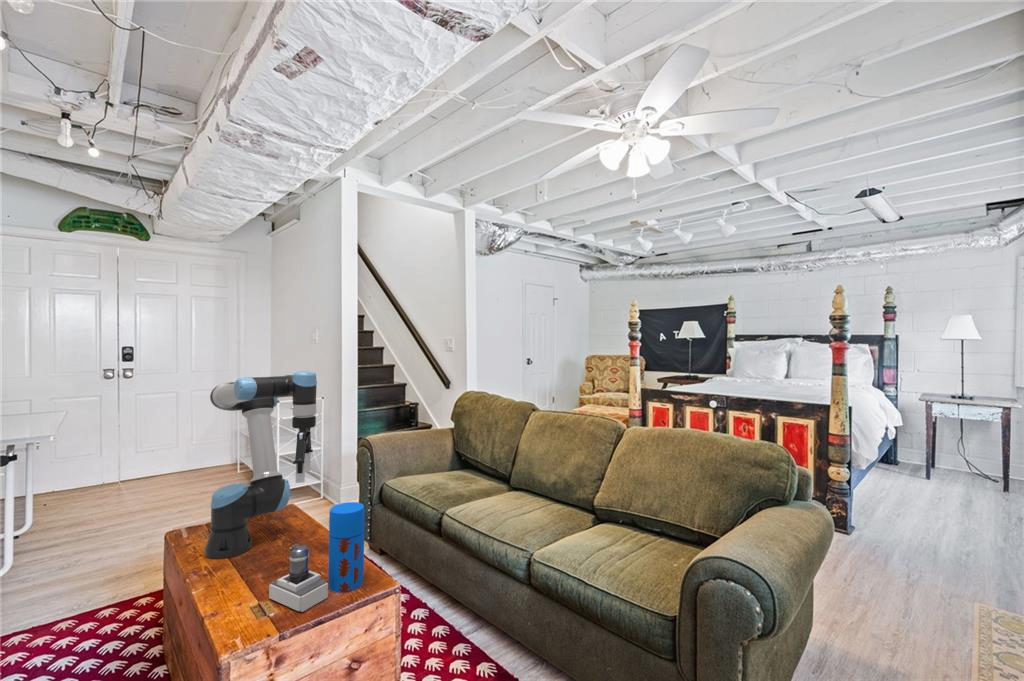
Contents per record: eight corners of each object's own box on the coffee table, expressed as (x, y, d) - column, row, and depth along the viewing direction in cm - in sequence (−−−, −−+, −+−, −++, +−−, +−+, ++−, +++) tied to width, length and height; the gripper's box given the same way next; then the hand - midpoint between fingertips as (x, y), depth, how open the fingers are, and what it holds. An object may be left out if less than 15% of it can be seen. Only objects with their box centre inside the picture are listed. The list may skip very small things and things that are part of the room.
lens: (284, 583, 141) (285, 550, 141) (300, 575, 146) (301, 543, 146) (296, 588, 138) (297, 554, 139) (312, 580, 143) (313, 547, 143)
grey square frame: (269, 599, 141) (269, 577, 141) (296, 585, 150) (297, 564, 150) (300, 613, 134) (300, 590, 134) (327, 598, 143) (328, 576, 143)
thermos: (334, 576, 156) (335, 502, 156) (366, 575, 157) (367, 501, 157) (323, 593, 145) (325, 514, 145) (358, 592, 146) (359, 513, 146)
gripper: (298, 410, 172) (297, 467, 172) (285, 422, 148) (284, 488, 148) (320, 410, 175) (319, 466, 174) (310, 421, 151) (309, 486, 151)
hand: (303, 476), depth 161 cm, fingers open, 13 cm apart
